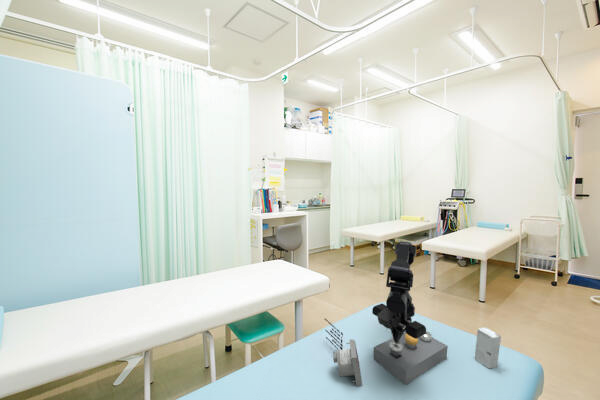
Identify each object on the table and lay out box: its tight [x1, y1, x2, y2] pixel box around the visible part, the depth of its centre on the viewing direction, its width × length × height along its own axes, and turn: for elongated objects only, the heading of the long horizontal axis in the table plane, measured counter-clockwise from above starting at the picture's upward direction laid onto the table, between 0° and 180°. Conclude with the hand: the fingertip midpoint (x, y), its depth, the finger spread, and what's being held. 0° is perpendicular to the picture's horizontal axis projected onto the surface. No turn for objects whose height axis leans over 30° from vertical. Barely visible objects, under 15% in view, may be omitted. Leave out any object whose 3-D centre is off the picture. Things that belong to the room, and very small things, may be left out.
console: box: [373, 331, 448, 385], centre depth 98 cm, size 14×25×5 cm, turn 122°
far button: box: [419, 331, 432, 342], centre depth 103 cm, size 4×4×5 cm
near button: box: [389, 340, 403, 359], centre depth 93 cm, size 4×4×5 cm
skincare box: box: [474, 326, 502, 369], centre depth 97 cm, size 6×4×12 cm
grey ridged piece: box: [324, 318, 363, 387], centre depth 97 cm, size 27×11×10 cm, turn 28°
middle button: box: [405, 333, 418, 350], centre depth 98 cm, size 4×4×5 cm
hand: (396, 342), depth 93 cm, fingers closed
